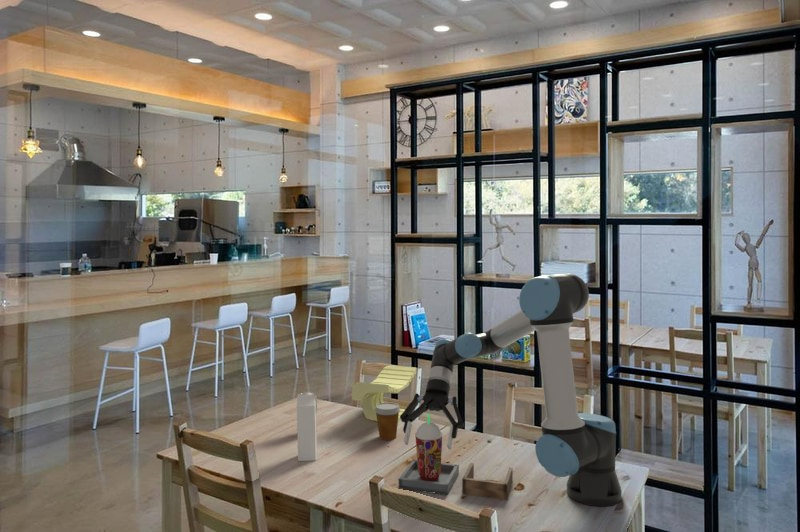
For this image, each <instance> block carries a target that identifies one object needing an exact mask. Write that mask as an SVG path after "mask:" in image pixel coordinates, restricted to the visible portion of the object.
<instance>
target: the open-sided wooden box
mask: <svg viewBox="0 0 800 532" xmlns="http://www.w3.org/2000/svg"><path fill="white" fill-rule="evenodd" d="M474 466H475V465H474V463H473V462H470V463H469V465H468V467H467V469H466V471H465V472H464V475H463V477H462V479H461V481H462V483H461V484H462V485H461V487H462V492H461V493H462V495H469V496H475V497H485V498H492V499H496V500H497V499H499V500H504V501H505V500H506V501H508V498H509V496H510V495H509V494H510V492H511V488H512V485H513V483H514V482H513V478H514V477H513V475H514V474H513V471H514V470H513V469H514V468H512V467H508V469H507V473H506V476H505V479H504V481H503V482H501V481H494V480H487V479H486V480H485V479H478V478H477V479H476V478H474V477H475V476H474V475H475V474H474V473H475V472H474V469H475V467H474Z"/></svg>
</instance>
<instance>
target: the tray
mask: <svg viewBox="0 0 800 532" xmlns="http://www.w3.org/2000/svg"><path fill="white" fill-rule="evenodd" d="M459 468H460V467H459V464H453V463H447V462H445V463H443V462H441V474H440V475H439V478H438V479H437V480H435V481H424V480H422V479H421V478H420V475H419V474H418V461H417V459H412V460H411V462H410V463H409V465H407V467H406V469H405V470H404V471H403V473H402V474H401V475H400V476H399V477H398V489H399V488H403V489H402V490H406V489H407V491H415V492H422V491H426V492H425V493H428V492H435V493H434V494H436V493H440V494H439V495H443V494H444V495H443V496H448V495H449V492H450V491H451V489H452V488H453V485H454V484H455V482H456V480H457V478H458V477H459V475H460V473H459V472H460V471H459V470H460V469H459Z"/></svg>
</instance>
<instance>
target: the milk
mask: <svg viewBox="0 0 800 532" xmlns="http://www.w3.org/2000/svg"><path fill="white" fill-rule="evenodd" d="M296 397H297V398H296V399H297V400H296V401H297V402H296V421H297V422H296V428H297V429H296V430H297V432H296V433H297V461H298V462H312V461H313V462H314V461H317V453H318V452H317V450H318V449H317V445H318V444H317V432H316V431H317V413H316V402H315V395H314V394H305V395H299V394H297V396H296Z"/></svg>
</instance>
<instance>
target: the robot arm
mask: <svg viewBox="0 0 800 532" xmlns="http://www.w3.org/2000/svg"><path fill="white" fill-rule="evenodd" d="M589 295H590V292H589V288H588V285H587V284H586V282H585V281H584V279H582V278H581V277H580V276H578V275H576V274H573V273H559V274H548V275H547V274H546V275H539V276H535V277H532V278H530V279H528V280H527V281H526V282H525V283H524V285H523V286H522V288H521V290H520V293H519V297H518V298H519V306H520V311H518V312H516V313H515V314H513V315H511V316H510V317H508V318H506V319H505V320H503V321H501V322H500V323H498V324H496V325H494V326H493V327H492V328H490V329H489V330H487V331H485V332H482V333H477V334H475V333H474V332H467V333H465V334H461V335H459V336H458V337H456V338H455V339H453V340H450V339H447V338H446V339H439V340H438V341H437V342H436V343H435V346H434V349H433V353H432V359H431V363H430V364H431V365H430V370H429V373H428V378H427V379H428V380H427V382H426V383H427V384H426V388H425V392H424V395H419V393H415V394H414V397H413V399H412V401H411V402H410V403H409V404H408V405H407V407H406V408H405V411H404V412H403V413H402V414H401V416H400V419H401V421H400V422H402V423H404V425H403V428H402V431H403V433H404V437H403V443H404V445H407V446H408V445H409V442H410V437H411V434H412V433H411V432H412V427H413V425H412V423H413V422H414V421H415V420H417V418H418V417H420V416H421V415H422V414H424V413H425V412H427V411H428V410H429V411H432V412H433V411H436V412H440V411H442V412H443V414H444V415H445V416H446V418H447V419H448V421H449V422H450V423H451V424H450V426H449V431H448V437H447V443H446V446H447V447H446V448H447V449H448V450H449V451H450V450H452V446H453V439H456V438H457V435H458V429H460V428H462V429H463V428H465V423H464V421H463V418H462V414H461V413H460V410H459V407H458V398H457V396H453V397H449V396H450V389H451V383H452V378H453V372H454V367H455V366H456V365H458V364H459V365H460V363H462V362H465V361H468V360H470V359H471V360H472V359H476V358H481V357H484V356H489V355H496V354H499V353H501V352H503V351H505V349H506V348H507V346H509V345H512V344H513V343H515V342H517V341H518V340H521V339H523V338H524V337H526V336H528V335H529V334H531V333H533V332H536V337H537V346H538V353H539V354H538V356H539V365H540V373H541V374H540V375H541V383H542V392H543V402H544V409H545V418H544V420H543V421H542V422H541V423H540V425H541V436H539V438H538V440H537V441H536V442H535V456H536V457H537V460H538V462H539V464H540V465H541V467H543V468H544V470H546V472H548V473H549V474H551V475H552V476H554V477H558V478H565V477H568V478H567V481H566V494H567V495H568V497H569V498H571V499H572V500H574V501H576V502H578V503H581V504H584V505H587V506H592V507H593V506H594V507H610V506H614V505H617V504H619V503H620V502H621V500H622V497H623V496H622V495H623V493H622V491H623V490H622V487H621V484H620V481H619V478H618V474H617V472H616V448H617V447H616V446H617V445H616V443H617V442H616V441H617V439H616V438H617V431H616V423H615V421H614V420H612V419H611V418H609V417H608V416H604V415H602V414H601V415H600V414H595V413H587V412H586V413H585V412H579V411H578V402H577V401H578V399H577V392H576V383H575V382H576V381H575V375H574V374H575V373H574V366H573V355H572V347H571V338H570V328H571V326H572V325H573V324H574V322H575V321H574V314H575V313H578V312H581V310H583V309H585V306H586V305H587V303H588V300H589V297H590V296H589ZM421 402H422V403H421ZM419 404H420V405H419ZM448 404H450V405H451V406H453V409H454V412H455V415H456V417H457V421H456V419H455V418H454V416H453V415H452V414H451V413H450V410H449V409H448V408H447V405H448ZM417 406H418V407H417Z"/></svg>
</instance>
